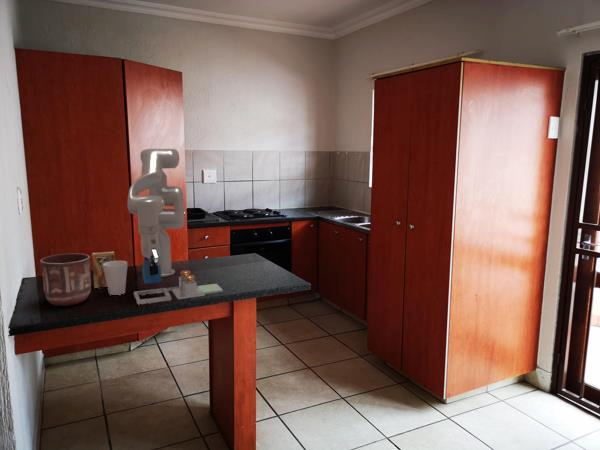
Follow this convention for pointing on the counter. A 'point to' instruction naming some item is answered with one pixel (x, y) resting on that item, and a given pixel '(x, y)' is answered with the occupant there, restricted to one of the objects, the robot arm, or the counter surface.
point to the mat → (209, 288)
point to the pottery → (66, 278)
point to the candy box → (100, 267)
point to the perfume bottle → (146, 272)
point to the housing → (179, 292)
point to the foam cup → (115, 276)
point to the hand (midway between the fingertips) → (151, 272)
